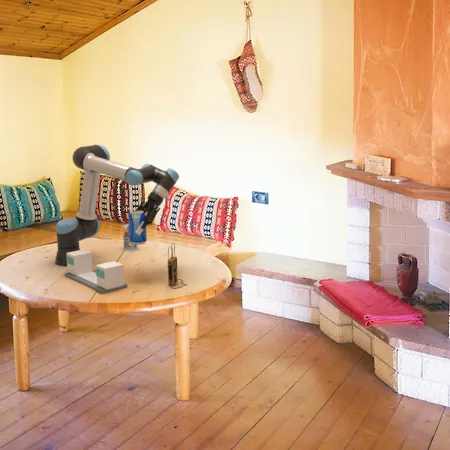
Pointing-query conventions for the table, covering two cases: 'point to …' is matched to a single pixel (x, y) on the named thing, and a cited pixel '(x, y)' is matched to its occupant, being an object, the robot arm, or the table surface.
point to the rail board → (94, 272)
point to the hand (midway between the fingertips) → (132, 232)
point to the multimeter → (172, 269)
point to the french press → (126, 241)
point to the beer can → (134, 223)
